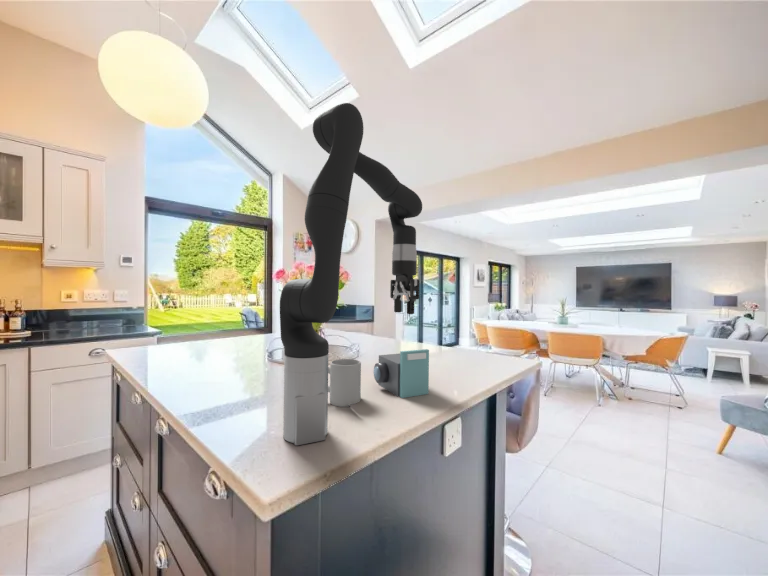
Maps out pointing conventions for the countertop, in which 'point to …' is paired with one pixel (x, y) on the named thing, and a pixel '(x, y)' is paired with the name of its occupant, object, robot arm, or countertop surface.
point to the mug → (345, 382)
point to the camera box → (388, 373)
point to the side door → (414, 373)
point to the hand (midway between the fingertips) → (403, 313)
